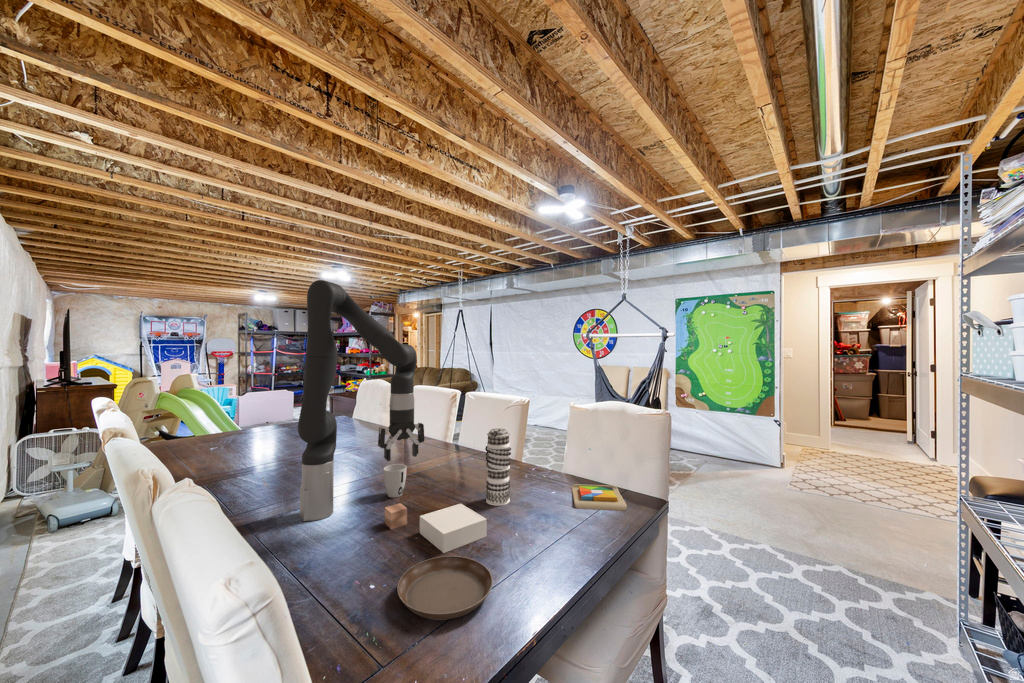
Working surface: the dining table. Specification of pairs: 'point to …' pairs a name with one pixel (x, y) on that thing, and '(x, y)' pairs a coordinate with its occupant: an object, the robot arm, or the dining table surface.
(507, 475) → the decorative candle
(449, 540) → the off-white plinth
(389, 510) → the terracotta cube
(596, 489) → the wooden puzzle
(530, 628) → the dining table surface
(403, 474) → the cup
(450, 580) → the plant saucer
